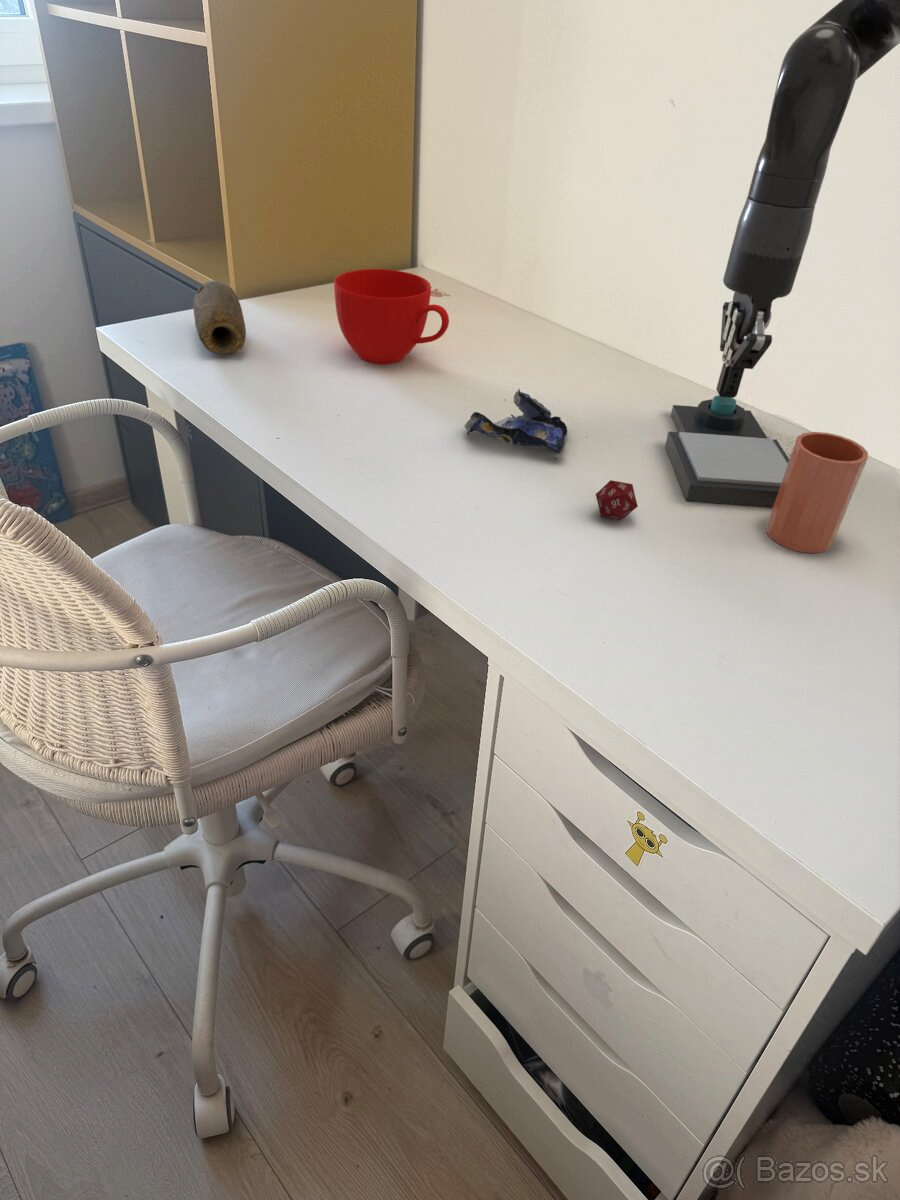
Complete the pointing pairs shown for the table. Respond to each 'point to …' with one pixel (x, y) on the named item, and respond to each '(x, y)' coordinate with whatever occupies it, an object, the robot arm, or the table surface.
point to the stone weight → (219, 318)
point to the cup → (815, 491)
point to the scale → (727, 468)
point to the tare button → (723, 405)
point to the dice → (616, 500)
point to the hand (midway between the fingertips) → (725, 394)
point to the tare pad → (716, 421)
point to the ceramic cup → (384, 313)
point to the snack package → (523, 425)
